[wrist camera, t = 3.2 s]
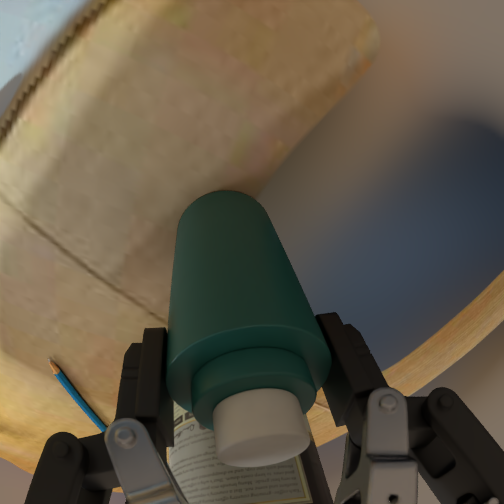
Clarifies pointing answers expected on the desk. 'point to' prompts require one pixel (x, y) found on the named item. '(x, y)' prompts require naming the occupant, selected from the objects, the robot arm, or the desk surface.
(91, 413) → the pencil
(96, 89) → the desk surface
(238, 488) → the coffee can
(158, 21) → the desk surface
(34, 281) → the desk surface
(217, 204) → the bottle
